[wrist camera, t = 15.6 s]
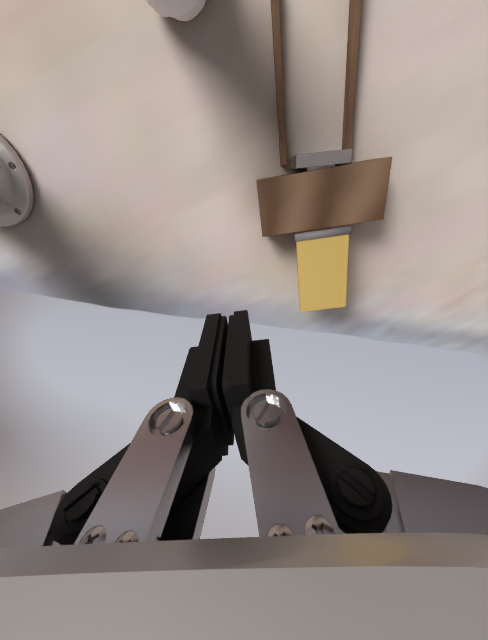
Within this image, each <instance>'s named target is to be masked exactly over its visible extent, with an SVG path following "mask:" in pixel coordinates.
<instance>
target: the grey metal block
mask: <svg viewBox="0 0 488 640" xmlns="http://www.w3.org/2000/svg"><path fill="white" fill-rule="evenodd" d="M352 151H353V149H345V150H336V151H327V152H319V153H310V154H302V155H295V156H293V157H292V169H296V168H303V172H308V171H313V170H319V169H325V168H330V167H335V164H341V163H350V162H351V160H352ZM326 229H329V227H327V228H320V229H313V230H306V231H301V233H306V232H313V231H319V230H326Z"/></svg>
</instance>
